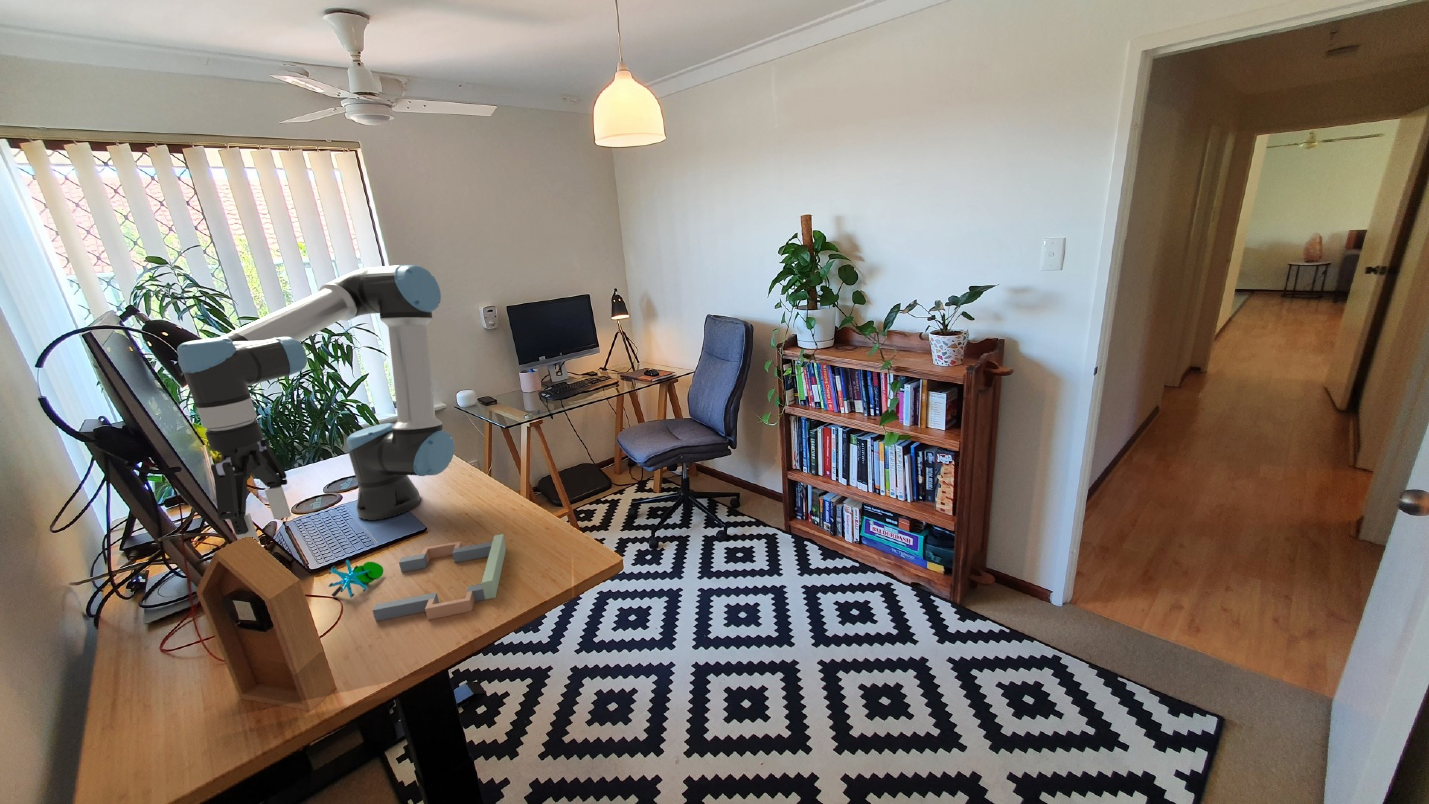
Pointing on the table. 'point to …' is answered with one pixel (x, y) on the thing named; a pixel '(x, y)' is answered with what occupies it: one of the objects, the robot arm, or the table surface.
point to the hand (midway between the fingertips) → (267, 531)
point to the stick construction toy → (356, 576)
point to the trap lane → (430, 601)
